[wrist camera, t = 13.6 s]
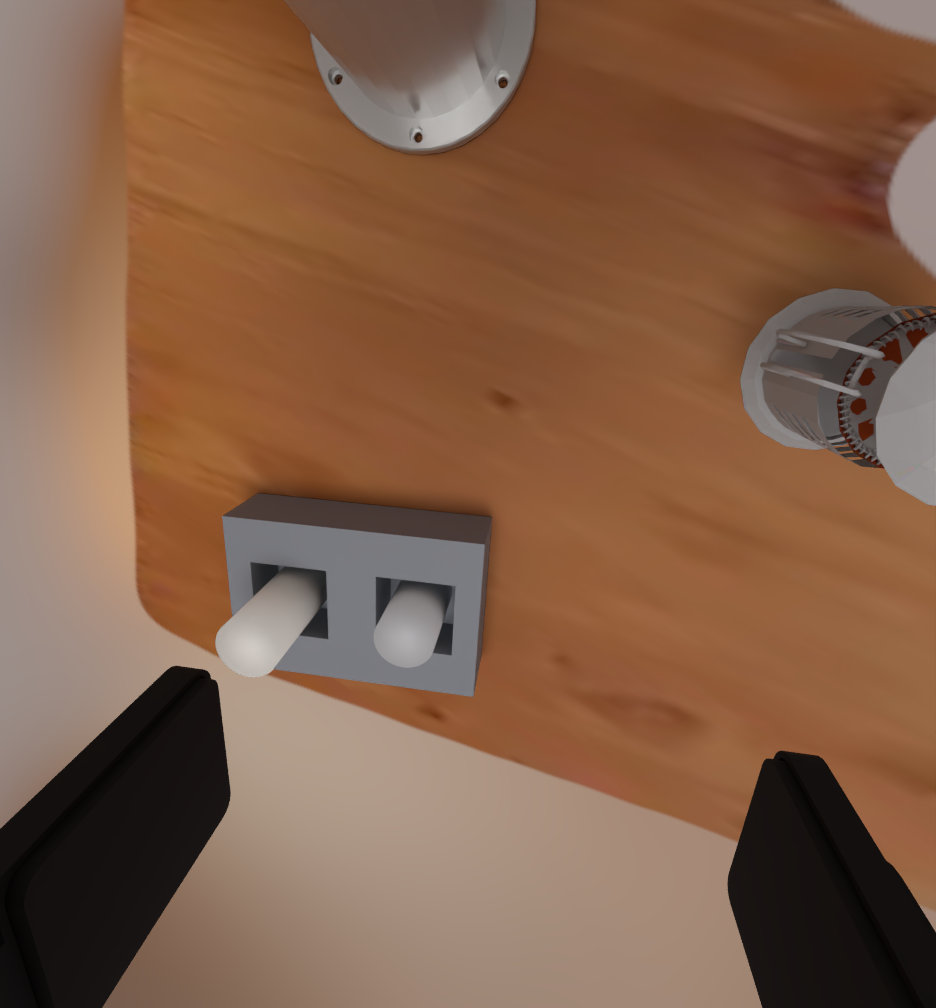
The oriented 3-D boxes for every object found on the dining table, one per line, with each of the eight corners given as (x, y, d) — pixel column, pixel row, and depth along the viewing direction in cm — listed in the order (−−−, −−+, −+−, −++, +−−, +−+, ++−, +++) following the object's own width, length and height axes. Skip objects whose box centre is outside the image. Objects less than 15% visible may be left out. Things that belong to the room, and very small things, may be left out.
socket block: (258, 493, 42) (196, 532, 35) (491, 517, 40) (479, 564, 33) (268, 628, 46) (214, 689, 39) (481, 655, 44) (467, 726, 37)
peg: (286, 549, 42) (212, 616, 33) (337, 555, 42) (276, 625, 33) (288, 595, 44) (218, 672, 34) (337, 602, 43) (279, 681, 34)
